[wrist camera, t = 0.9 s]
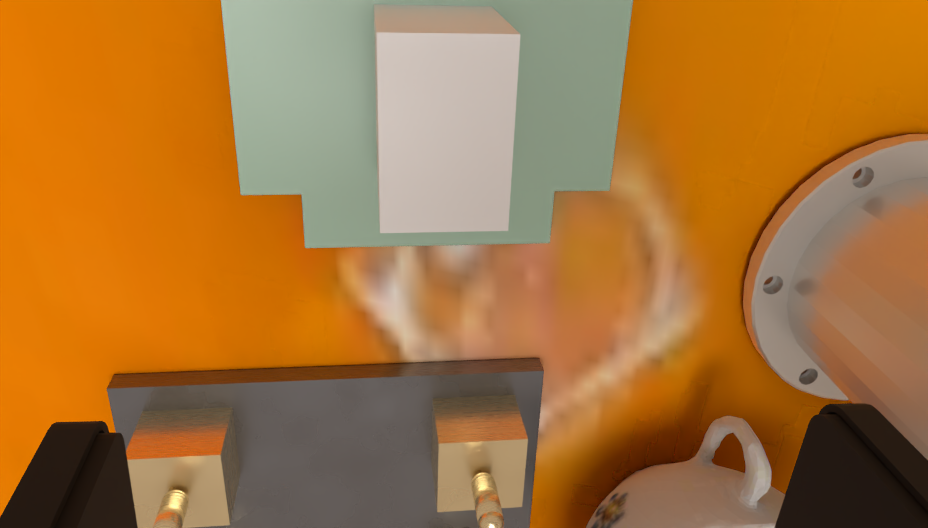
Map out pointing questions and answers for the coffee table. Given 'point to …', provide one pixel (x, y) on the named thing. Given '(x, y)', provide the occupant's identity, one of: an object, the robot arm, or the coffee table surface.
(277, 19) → the circuit board
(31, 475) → the robot arm
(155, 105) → the coffee table surface
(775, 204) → the coffee table surface
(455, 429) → the chassis
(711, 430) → the teacup
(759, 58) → the coffee table surface
